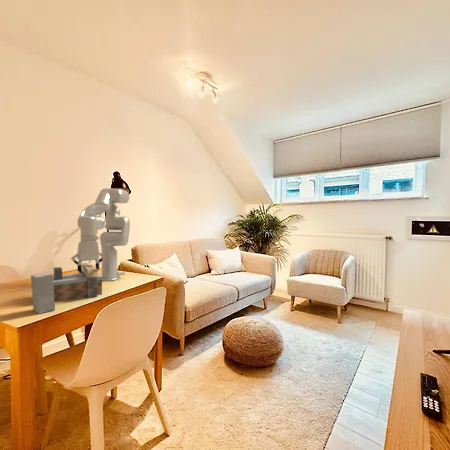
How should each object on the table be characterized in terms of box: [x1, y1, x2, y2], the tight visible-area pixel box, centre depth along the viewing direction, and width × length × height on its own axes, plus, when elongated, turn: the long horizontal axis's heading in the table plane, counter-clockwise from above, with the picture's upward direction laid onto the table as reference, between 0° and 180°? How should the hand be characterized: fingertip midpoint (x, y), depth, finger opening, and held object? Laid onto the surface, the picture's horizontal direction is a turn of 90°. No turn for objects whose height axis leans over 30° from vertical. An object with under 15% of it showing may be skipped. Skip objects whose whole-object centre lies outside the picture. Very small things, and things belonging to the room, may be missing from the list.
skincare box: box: [30, 272, 56, 314], centre depth 113 cm, size 8×7×16 cm
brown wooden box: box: [53, 271, 103, 302], centre depth 136 cm, size 26×23×10 cm
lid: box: [53, 266, 102, 285], centre depth 136 cm, size 26×16×8 cm, turn 127°
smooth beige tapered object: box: [81, 262, 98, 278], centre depth 141 cm, size 4×24×4 cm, turn 37°
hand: (88, 271), depth 141 cm, fingers open, 7 cm apart
